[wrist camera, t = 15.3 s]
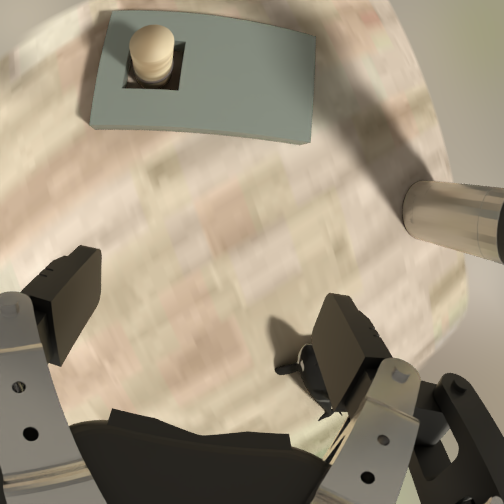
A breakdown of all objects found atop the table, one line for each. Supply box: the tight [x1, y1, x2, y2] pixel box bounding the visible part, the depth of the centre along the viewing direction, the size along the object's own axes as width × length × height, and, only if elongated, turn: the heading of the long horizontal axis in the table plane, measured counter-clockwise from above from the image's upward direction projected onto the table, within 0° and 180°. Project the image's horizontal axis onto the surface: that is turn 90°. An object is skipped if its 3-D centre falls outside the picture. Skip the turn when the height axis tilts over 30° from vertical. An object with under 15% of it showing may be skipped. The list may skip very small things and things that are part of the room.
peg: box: [129, 25, 174, 89], centre depth 26 cm, size 4×4×9 cm
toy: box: [275, 344, 342, 421], centre depth 42 cm, size 21×10×10 cm, turn 24°
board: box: [89, 10, 316, 145], centre depth 31 cm, size 24×14×3 cm, turn 85°
